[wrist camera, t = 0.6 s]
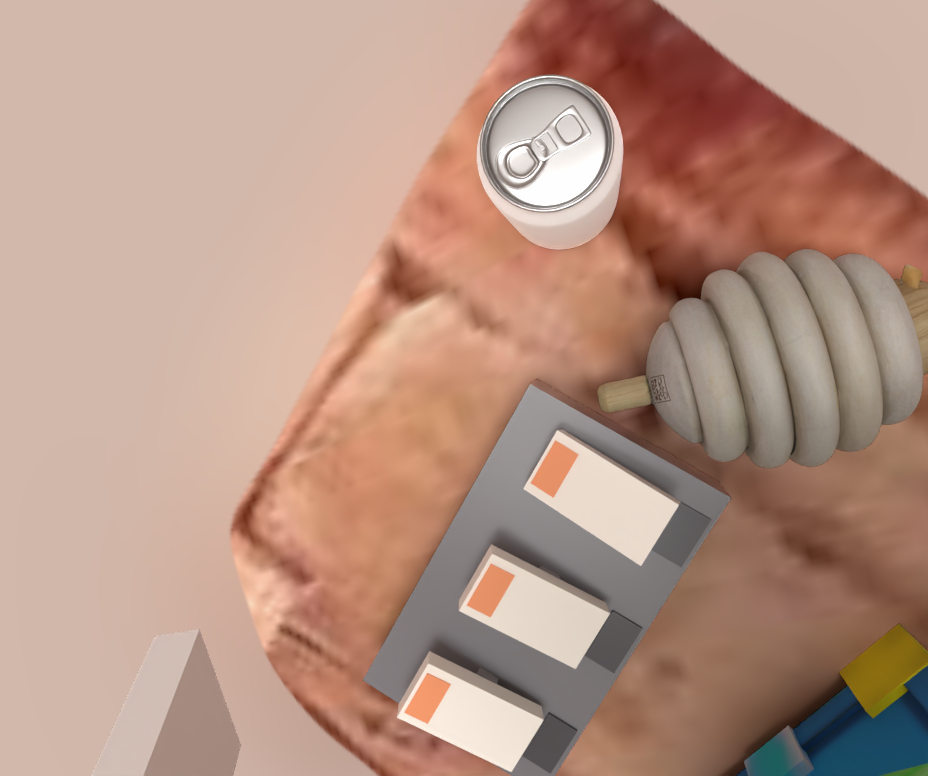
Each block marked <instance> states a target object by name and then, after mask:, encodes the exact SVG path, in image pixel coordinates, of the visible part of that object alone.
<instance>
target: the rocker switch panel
mask: <svg viewBox="0 0 928 776" xmlns="http://www.w3.org/2000/svg"><path fill="white" fill-rule="evenodd" d="M561 429H563V430H565V431H566V432H568V433H569V434H571V435H573V436H574V437H576V438H578V439H579V440H581V441H582V442H584V443H586V444H587V445H589V446H591V447H592V448H594V449H596V450H597V451H599V452H600V453H602V454H604V455H605V456H607V457H609V458H610V459H612V460H613V461H615V462H617V463H618V464H620V465H622V466H623V467H625V468H627V469H628V470H630V471H631V472H633V473H635V474H636V475H638V476H640V477H641V478H643V479H644V480H646V481H648V482H649V483H651V484H653V485H654V486H656V487H658V488H659V489H661V490H662V491H664V492H666V493H667V494H669V495H671V496H672V497H674V498H675V499H677V500H679V501H680V502H681V503H680V504H679V506H678V508H677V509H676V511H675V512H674V514H673V516H672V517H671V519H670V520H669V522H668V524H667V525H666V527H665V528H664V530H663V532H662V533H661V535H660V536H659V538H658V540H657V541H656V543H655V545H654V546H653V548H652V549H651V551H650V553H649V554H648V556H647V557H646V559H645V561H644V562H643V564H642V565H641V566H640V565H638V564H637V563H635V562H634V561H632V560H631V559H629V558H628V557H626V556H625V555H623V554H622V553H620V552H619V551H617V550H616V549H614V548H612V547H611V546H609V545H608V544H606V543H605V542H603V541H602V540H600V539H599V538H597V537H596V536H594V535H593V534H591V533H590V532H588V531H587V530H585V529H584V528H582V527H581V526H579V525H577V524H576V523H574V522H573V521H571V520H570V519H568V518H567V517H565V516H564V515H562V514H561V513H559V512H558V511H556V510H555V509H553V508H552V507H550V506H549V505H547V504H546V503H544V502H542V501H541V500H539V499H538V498H536V497H535V496H533V495H532V494H530V493H529V492H527V491H526V490H524V489H523V488H524V487H525V485H526V483H527V481H528V480H529V478H530V476H531V474H532V473H533V471H534V469H535V468H536V466H537V464H538V462H539V461H540V459H541V457H542V455H543V454H544V452H545V450H546V449H547V447H548V445H549V443H550V442H551V440H552V438H553V436H554V435H555V433H556V431H557V430H561ZM730 499H731V497H730V495H729V494H728V493H727V492H726V490H725V489H724V488H723V486H722V485H721V484H720V482H719V481H717V480H715V479H713V478H712V477H710V476H708V475H706V474H705V473H703V472H701V471H699V470H697V469H696V468H694V467H692V466H690V465H689V464H687V463H685V462H683V461H682V460H680V459H678V458H676V457H674V456H673V455H671V454H669V453H667V452H666V451H664V450H662V449H660V448H658V447H657V446H655V445H653V444H651V443H650V442H648V441H646V440H644V439H643V438H641V437H639V436H637V435H635V434H634V433H632V432H630V431H628V430H627V429H625V428H623V427H621V426H620V425H618V424H616V423H614V422H612V421H611V420H609V419H607V418H605V417H604V416H602V415H600V414H598V413H597V412H595V411H593V410H591V409H589V408H588V407H586V406H584V405H582V404H581V403H579V402H577V401H575V400H573V399H572V398H570V397H568V396H566V395H565V394H563V393H561V392H559V391H558V390H556V389H554V388H552V387H550V386H549V385H547V384H545V383H543V382H542V381H540V380H538V379H536V380H534V381H533V382H532V383H531V384H530V385H529V387H528V389H527V390H526V392H525V394H524V396H523V398H522V399H521V401H520V403H519V405H518V406H517V408H516V410H515V412H514V414H513V415H512V417H511V419H510V421H509V422H508V424H507V426H506V428H505V429H504V431H503V433H502V435H501V437H500V438H499V440H498V442H497V444H496V445H495V447H494V449H493V451H492V452H491V454H490V456H489V458H488V460H487V461H486V463H485V465H484V467H483V468H482V470H481V472H480V474H479V475H478V477H477V479H476V481H475V483H474V484H473V486H472V488H471V490H470V491H469V493H468V495H467V497H466V499H465V500H464V502H463V504H462V506H461V507H460V509H459V511H458V513H457V514H456V516H455V518H454V520H453V522H452V523H451V525H450V527H449V529H448V530H447V532H446V534H445V536H444V537H443V539H442V541H441V543H440V545H439V546H438V548H437V550H436V552H435V553H434V555H433V557H432V559H431V560H430V562H429V564H428V566H427V568H426V569H425V571H424V573H423V575H422V576H421V578H420V580H419V582H418V583H417V585H416V587H415V589H414V591H413V592H412V594H411V596H410V598H409V599H408V601H407V603H406V605H405V607H404V608H403V610H402V612H401V614H400V615H399V617H398V619H397V621H396V622H395V624H394V626H393V628H392V630H391V631H390V633H389V635H388V637H387V638H386V640H385V642H384V644H383V645H382V647H381V649H380V651H379V653H378V654H377V656H376V658H375V660H374V661H373V663H372V665H371V667H370V668H369V670H368V672H367V674H366V676H365V677H364V679H363V681H365V682H366V683H368V684H369V685H371V686H373V687H374V688H376V689H377V690H379V691H380V692H382V693H384V694H385V695H387V696H388V697H390V698H391V699H393V700H394V701H396V702H398V703H400V701H401V699H402V698H403V696H404V694H405V692H406V691H407V689H408V687H409V686H410V684H411V682H412V680H413V679H414V677H415V675H416V673H417V672H418V670H419V668H420V667H421V665H422V663H423V661H424V660H425V658H426V656H427V654H428V653H429V651H430V652H432V653H434V654H436V655H438V656H440V657H442V658H444V659H446V660H448V661H451V662H453V663H455V664H457V665H459V666H461V667H463V668H465V669H467V670H469V671H471V672H473V673H475V674H477V675H479V676H481V677H483V678H485V679H487V680H489V681H491V682H493V683H495V684H497V685H499V686H501V687H503V688H506V689H508V690H510V691H512V692H514V693H516V694H518V695H520V696H522V697H524V698H526V699H528V700H530V701H532V702H534V703H536V704H538V705H540V706H542V712H543V718H544V721H543V722H542V724H541V725H540V727H539V729H538V730H537V732H536V733H535V735H534V737H533V738H532V740H531V741H530V743H529V745H528V746H527V748H526V750H525V751H524V753H523V754H522V756H521V758H520V759H519V761H518V762H517V764H516V766H515V767H514V769H513V770H512V772H510V771H508V770H506V769H503V768H501V767H499V766H497V765H496V766H497V767H499V768H500V769H502V770H504V771H505V772H507V773H508V774H510V775H511V776H555V774H556V773H557V771H558V770H559V768H560V767H561V765H562V763H563V762H564V760H565V759H566V757H567V756H568V754H569V752H570V751H571V749H572V748H573V746H574V745H575V743H576V741H577V740H578V738H579V737H580V735H581V734H582V732H583V730H584V729H585V727H586V726H587V724H588V723H589V721H590V719H591V718H592V716H593V715H594V713H595V712H596V710H597V708H598V707H599V705H600V704H601V702H602V701H603V699H604V697H605V696H606V694H607V693H608V691H609V690H610V688H611V686H612V685H613V683H614V682H615V680H616V678H617V677H618V675H619V674H620V672H621V671H622V669H623V667H624V666H625V664H626V663H627V661H628V660H629V658H630V656H631V655H632V653H633V652H634V650H635V649H636V647H637V645H638V644H639V642H640V641H641V639H642V638H643V636H644V634H645V633H646V631H647V630H648V628H649V627H650V625H651V623H652V622H653V620H654V619H655V617H656V616H657V614H658V612H659V611H660V609H661V608H662V606H663V605H664V603H665V601H666V600H667V598H668V597H669V595H670V594H671V592H672V590H673V589H674V587H675V586H676V584H677V583H678V581H679V579H680V578H681V576H682V575H683V573H684V572H685V570H686V568H687V567H688V565H689V564H690V562H691V560H692V559H693V557H694V556H695V554H696V553H697V551H698V549H699V548H700V546H701V545H702V543H703V542H704V540H705V538H706V537H707V535H708V534H709V532H710V531H711V529H712V527H713V526H714V524H715V523H716V521H717V520H718V518H719V516H720V515H721V513H722V512H723V510H724V509H725V507H726V505H727V504H728V502H729V501H730ZM491 544H492V545H494V546H496V547H498V548H500V549H502V550H503V551H505V552H507V553H509V554H511V555H513V556H515V557H517V558H519V559H521V560H523V561H525V562H527V563H529V564H531V565H533V566H535V567H537V568H539V569H541V570H543V571H545V572H547V573H549V574H551V575H553V576H554V577H556V578H558V579H560V580H562V581H564V582H566V583H568V584H570V585H572V586H574V587H576V588H578V589H580V590H582V591H584V592H586V593H588V594H590V595H592V596H594V597H596V598H598V599H600V600H602V601H603V602H605V603H606V605H607V607H608V610H609V612H610V615H609V616H608V618H607V619H606V621H605V623H604V624H603V626H602V627H601V629H600V631H599V632H598V634H597V635H596V637H595V639H594V640H593V642H592V643H591V645H590V647H589V648H588V650H587V652H586V653H585V655H584V656H583V658H582V660H581V661H580V663H579V664H578V666H577V668H576V669H574V668H572V667H570V666H568V665H566V664H564V663H562V662H560V661H558V660H556V659H554V658H552V657H550V656H548V655H546V654H544V653H542V652H540V651H538V650H536V649H534V648H532V647H530V646H528V645H526V644H524V643H522V642H520V641H518V640H516V639H514V638H512V637H510V636H508V635H506V634H504V633H502V632H500V631H498V630H496V629H494V628H492V627H490V626H488V625H486V624H484V623H482V622H480V621H478V620H476V619H474V618H472V617H470V616H468V615H466V614H464V613H462V612H460V611H459V599H460V597H461V596H462V594H463V592H464V590H465V589H466V587H467V585H468V584H469V582H470V580H471V578H472V577H473V575H474V573H475V571H476V570H477V568H478V566H479V565H480V563H481V561H482V559H483V558H484V556H485V554H486V552H487V551H488V549H489V547H490V546H491ZM494 765H495V764H494Z"/></svg>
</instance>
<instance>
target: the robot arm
mask: <svg viewBox="0 0 928 776" xmlns="http://www.w3.org/2000/svg"><path fill="white" fill-rule="evenodd" d="M240 747H241V744H240V741H239V738H238V736H237V733H236V730H235V727H234V724H233V722H232V719H231V716H230V714H229V711H228V708H227V705H226V702H225V699H224V696H223V694H222V691H221V688H220V685H219V683H218V680H217V677H216V674H215V672H214V669H213V666H212V663H211V660H210V657H209V655H208V652H207V649H206V646H205V644H204V641H203V638H202V635H201V632H200V630H199V629H197V630H191V631H185V632H178V633H172V634H165V635H159V636H155V637H154V639H153V641H152V644H151V646H150V648H149V650H148V652H147V654H146V657H145V659H144V661H143V663H142V666H141V667H140V670H139V672H138V674H137V676H136V678H135V680H134V683H133V685H132V687H131V689H130V691H129V694H128V696H127V698H126V700H125V702H124V705H123V707H122V709H121V711H120V713H119V716H118V718H117V720H116V722H115V724H114V726H113V729H112V731H111V733H110V735H109V737H108V740H107V742H106V744H105V746H104V748H103V751H102V753H101V755H100V757H99V759H98V761H97V763H96V766H95V768H94V770H93V772H92V774H91V776H233V774H234V770H235V766H236V762H237V758H238V754H239V751H240Z"/></svg>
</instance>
